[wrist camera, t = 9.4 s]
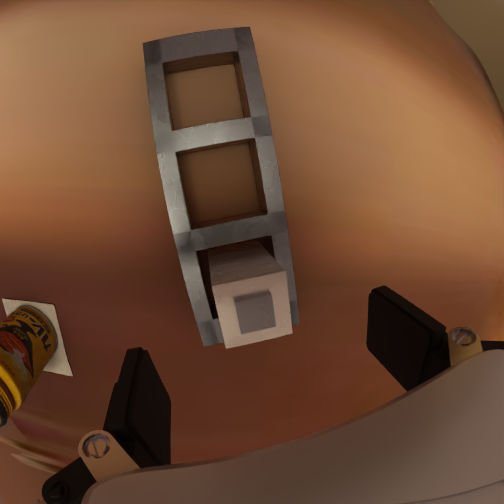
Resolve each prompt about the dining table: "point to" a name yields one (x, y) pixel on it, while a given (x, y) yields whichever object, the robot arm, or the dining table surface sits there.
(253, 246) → the block
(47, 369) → the condiment
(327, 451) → the robot arm
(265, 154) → the grey flat rectangular frame
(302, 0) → the dining table surface
